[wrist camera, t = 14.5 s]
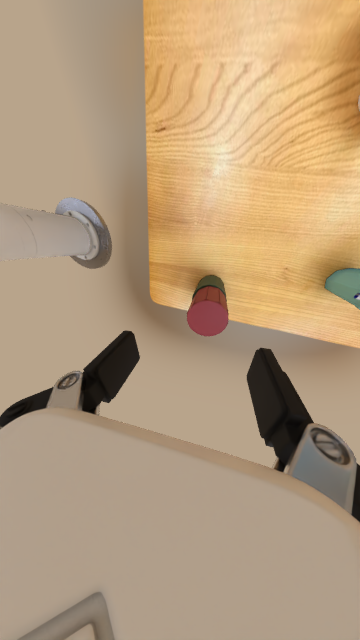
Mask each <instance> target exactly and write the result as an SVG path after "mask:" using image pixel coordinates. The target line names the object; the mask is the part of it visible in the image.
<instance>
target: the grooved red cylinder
mask: <svg viewBox="0 0 360 640" xmlns="http://www.w3.org/2000/svg"><path fill="white" fill-rule="evenodd" d="M187 321H188V324H189V326H190V328H191V329H192V330H193V331H194V332H196V333H197V334H200V335H203V336H214V335H217V334H219V333H221V332H222V331H223V330H224V329H225V328H226V326H227V324H228V309H227V303H226V297H225V295H224V294H223V293H222V291H221V290H220V289H219V288H215V287H211V286H209V287H208V286H207V287H205V288H202V289H199V290H198V292H197V293H196V295H195V296H194V298H193V301H192V303H191V305H190V307H189V310H188V312H187Z"/></svg>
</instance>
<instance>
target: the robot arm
mask: <svg viewBox="0 0 360 640" xmlns="http://www.w3.org/2000/svg"><path fill="white" fill-rule="evenodd" d="M98 252H99V238H98V235H97V232H96V230H95V228H94V226H93V224H92V223H91V222H90V220H89V219H88V218H87V217H86V216H84V215H83V214H81V213H79V212H77V211H72V210H69V211H66V212H65V213H64V214H63V215H59V214H54V213H48V212H46V211H44V210H42V211H38V210H33V209H28V208H23V207H18V206H13V205H8V204H3V203H0V261H5V260H16V259H29V258H44V257H57V256H72V255H76V256H77V257H79V258H81V259H84V260H91V259H94V258H95V257H96V256H97V254H98ZM139 359H140V356H139V352H138V348H137V344H136V340H135V336H134V334H133V333H132V332H131V331H123V332H122V333H121V334H120V335H119V336H118V337H117V338H116V339H115V340H114V341H113V342H112V343H111V344H109V346H107V347H106V348H105V349H104V350H103V351H102V352H101V353H100V354H99V355H98V356H97V357H96V358H95V359H94V360H93V361H92V362H91V363H89V364H88V365H87V366H86V367H85V368H84V369H83V370H84V372H83V373H82V372H80V371H73V372H70V373H67V374H66V375H64V376H63V377H61V378H60V379H59V380H58V381H57V382H56V384H55V385H54V387H52V388H50V389H47V390H45V391H42V392H40V393H37V394H35V395H32V396H30V397H27V398H25V399H22V400H20V401H18V402H16V403H15V404H13V405H12V406H10V407H9V408H8V409H7V410H6V411H5V412H4V413H3V414H2V415H1V416H0V640H360V465H358V464H357V463H356V458H355V456H354V454H353V452H352V450H351V449H350V448H349V446H348V445H347V444H346V443H345V442H344V441H343V440H342V439H341V437H339V436H338V435H337V434H336V433H334V432H333V431H332V430H330V429H328V428H327V427H325V426H323V425H320V424H316V423H314V422H313V420H312V419H311V417H310V415H309V413H308V412H307V410H306V408H305V406H304V404H303V403H302V401H301V399H300V397H299V395H298V394H297V392H296V390H295V388H294V386H293V385H292V383H291V381H290V379H289V377H288V376H287V374H286V373H285V372H283V371H282V369H281V367H280V365H279V364H278V362H277V360H276V358H275V356H274V354H273V352H272V351H271V349H265V348H260V349H259V350H256V352H255V355H254V358H253V360H252V363H251V366H250V369H249V371H248V374H247V382H248V386H249V390H250V394H251V398H252V403H253V407H254V411H255V415H256V419H257V424H258V428H259V432H260V435H261V437H262V438H264V440H265V444H266V446H270V447H274V451H275V454H276V456H277V458H276V460H275V462H274V464H273V466H272V468H269V467H266V466H263V465H260V464H257V463H254V462H251V461H248V460H245V459H241V458H239V457H235V456H233V455H229V454H226V453H223V452H219V451H216V450H213V449H210V448H206V447H203V446H200V445H196V444H193V443H190V442H186V441H183V440H180V439H176V438H173V437H170V436H166V435H163V434H160V433H156V432H153V431H150V430H146V429H143V428H140V427H136V426H133V425H129V424H126V423H123V422H119V421H116V420H112V419H108V418H106V417H102V416H99V406H100V403H101V401H103V402H107V403H109V402H110V401H111V399H113V398H114V397H115V396H116V394H117V393H118V391H119V390H120V388H121V387H122V385H123V384H124V382H125V381H126V379H127V378H128V376H129V375H130V373H131V372H132V370H133V369H134V367H135V366H136V364H137V363H138V361H139Z"/></svg>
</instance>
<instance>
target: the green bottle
mask: <svg viewBox="0 0 360 640" xmlns="http://www.w3.org/2000/svg"><path fill="white" fill-rule="evenodd" d="M207 286H208V287H209V286H211V287H215V288H219V289H220V290H221V291H222V293H223V294H224V295H225V297H226V294H225V288H224V284H223V282H222V280H221V279H220V278H219V277H217V276H213V275H210V276H206V277H204V278H203V279H202V280H201V281H200V282H199V284H198V286H197V288H196V290H195V292H194V294H193V298H194V296H195V295H196V293H197V292H198V290H199V289H202V288H205V287H207ZM193 298H192V301H193ZM226 302H227V300H226Z"/></svg>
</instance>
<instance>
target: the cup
mask: <svg viewBox="0 0 360 640" xmlns="http://www.w3.org/2000/svg"><path fill="white" fill-rule="evenodd" d="M325 288H326V289H327V290H329V291H330V292H332V293H334V294H335V295H337V296H339V297H341V298H342V299H344V300H346V301H348V302H349V303H351V304H353V305H355V307H357V308H358V309H360V269H354V268H348V269H343V270H338V271H336V272H334V273H333V274H332V275H331V276H330V277H328V278H327V279H326V283H325Z"/></svg>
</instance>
